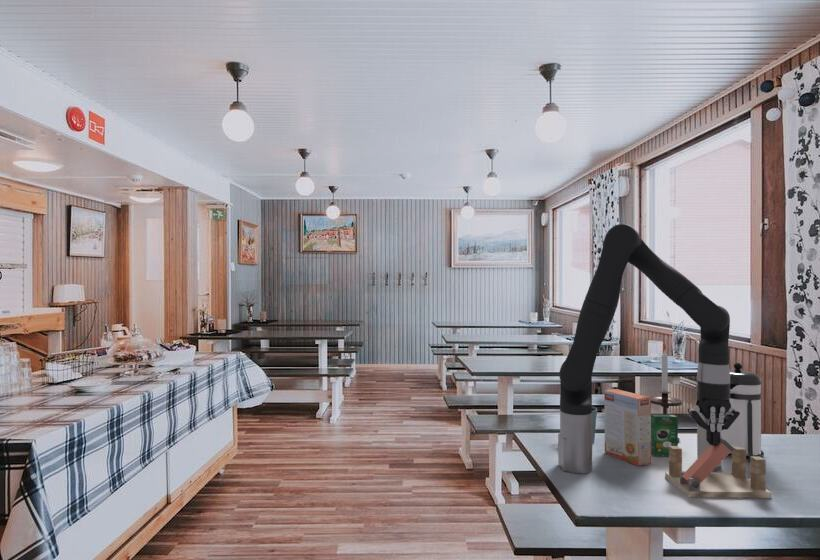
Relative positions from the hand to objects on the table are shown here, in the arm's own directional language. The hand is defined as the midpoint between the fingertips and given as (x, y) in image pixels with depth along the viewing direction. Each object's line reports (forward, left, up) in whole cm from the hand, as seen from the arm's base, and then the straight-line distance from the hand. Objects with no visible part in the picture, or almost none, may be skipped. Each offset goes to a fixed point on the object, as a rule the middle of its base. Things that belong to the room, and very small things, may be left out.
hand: (713, 444), depth 130 cm
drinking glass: (-21, +43, -13) cm, 50 cm away
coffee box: (+1, +29, -13) cm, 32 cm away
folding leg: (-6, 0, -10) cm, 12 cm away
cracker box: (-12, +26, -13) cm, 32 cm away
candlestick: (+9, +45, -13) cm, 48 cm away
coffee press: (+26, +31, -13) cm, 42 cm away
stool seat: (+3, +4, -13) cm, 14 cm away
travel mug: (+10, +19, -13) cm, 25 cm away
